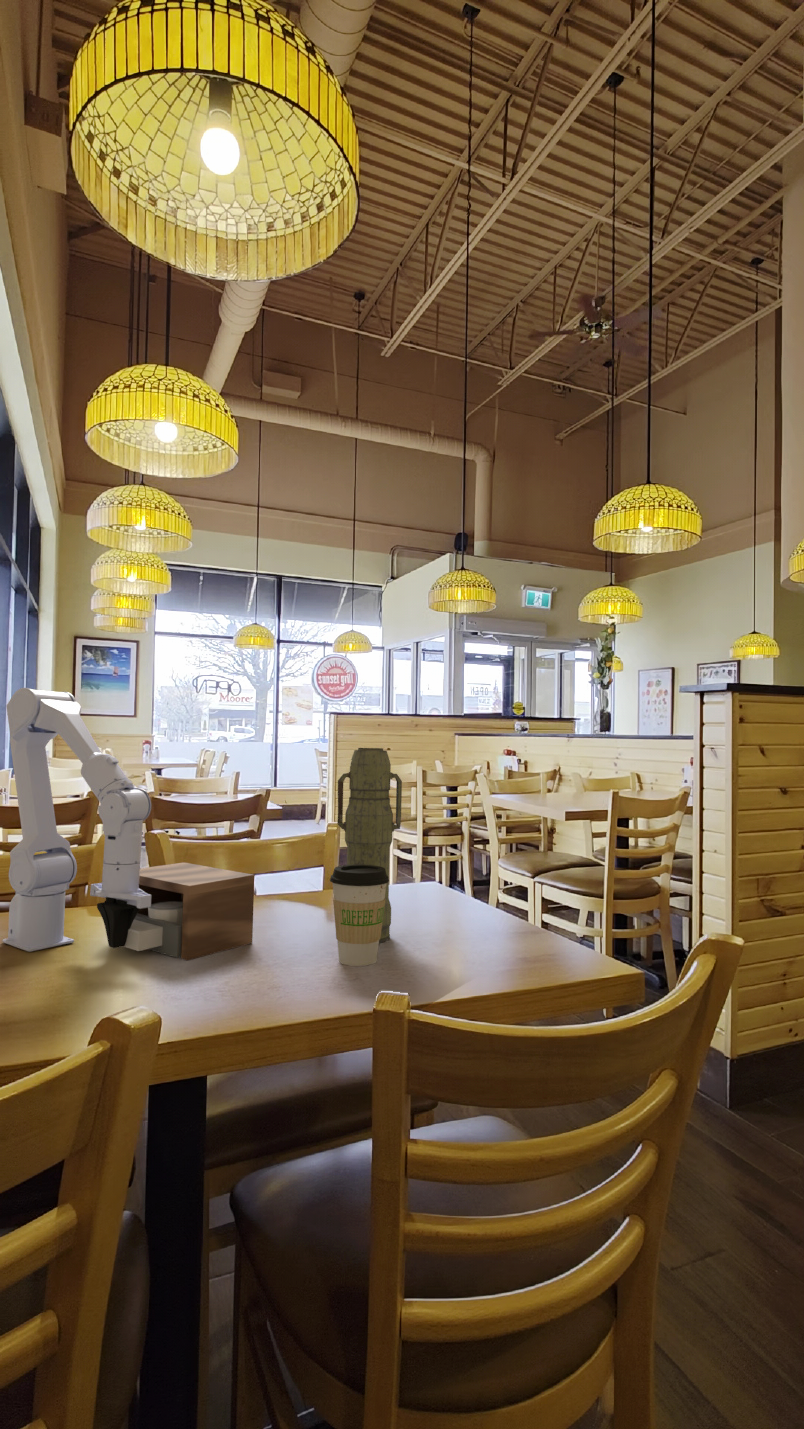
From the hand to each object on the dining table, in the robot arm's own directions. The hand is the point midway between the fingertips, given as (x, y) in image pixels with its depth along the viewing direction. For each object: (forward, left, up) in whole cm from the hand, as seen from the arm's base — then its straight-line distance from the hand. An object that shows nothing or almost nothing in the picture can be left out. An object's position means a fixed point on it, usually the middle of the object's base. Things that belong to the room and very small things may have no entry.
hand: (116, 946), depth 118 cm
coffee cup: (+31, +24, -2) cm, 39 cm away
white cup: (0, +10, -2) cm, 10 cm away
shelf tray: (0, +10, -2) cm, 10 cm away
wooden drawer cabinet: (0, +13, -2) cm, 13 cm away
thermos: (+23, +36, -2) cm, 43 cm away
